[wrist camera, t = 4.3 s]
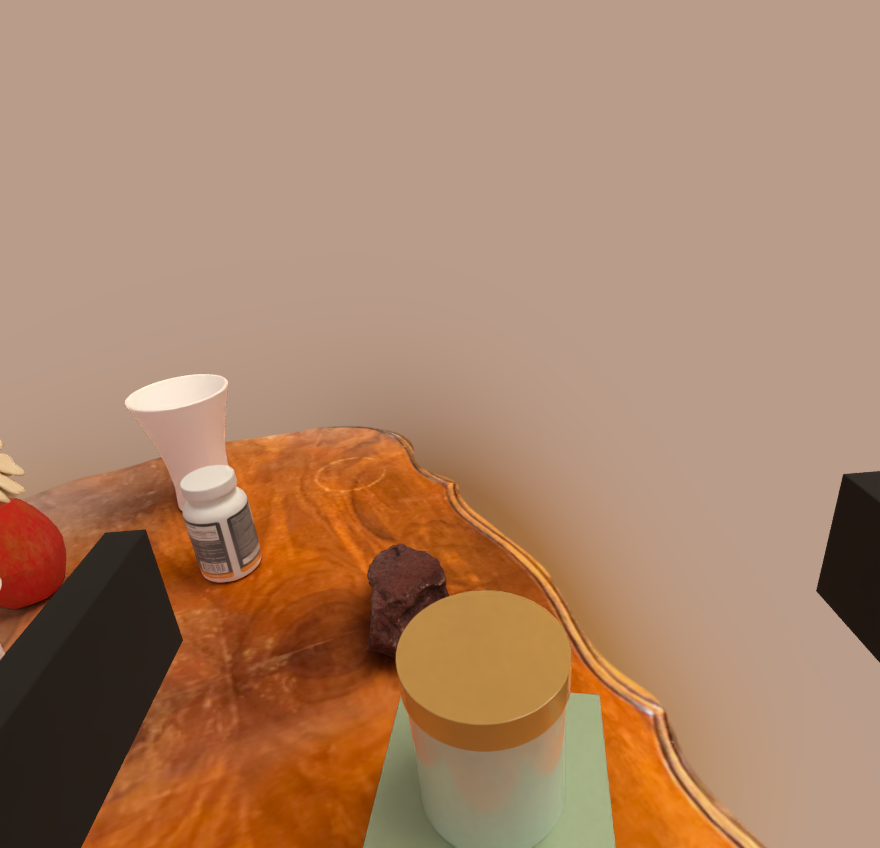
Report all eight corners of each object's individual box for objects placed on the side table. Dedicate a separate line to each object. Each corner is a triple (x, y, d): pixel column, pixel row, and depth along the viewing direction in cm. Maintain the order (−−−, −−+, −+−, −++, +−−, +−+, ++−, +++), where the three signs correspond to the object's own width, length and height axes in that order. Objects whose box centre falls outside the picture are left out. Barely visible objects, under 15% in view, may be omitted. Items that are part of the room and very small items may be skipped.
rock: (420, 595, 56) (336, 619, 53) (413, 530, 55) (327, 550, 52) (477, 645, 46) (379, 679, 43) (470, 567, 45) (369, 596, 42)
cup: (227, 468, 77) (200, 367, 71) (271, 493, 70) (246, 385, 65) (145, 503, 70) (109, 396, 65) (184, 535, 64) (148, 419, 58)
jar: (574, 873, 25) (576, 731, 22) (401, 853, 26) (376, 717, 23) (567, 720, 32) (568, 592, 28) (429, 710, 33) (413, 587, 29)
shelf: (617, 1019, 26) (624, 929, 23) (372, 982, 28) (350, 895, 25) (596, 778, 36) (599, 694, 33) (415, 763, 38) (403, 681, 35)
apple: (-43, 616, 55) (-97, 517, 50) (40, 561, 62) (-1, 469, 57) (19, 634, 52) (-32, 530, 47) (99, 574, 59) (60, 478, 54)
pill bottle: (248, 541, 62) (226, 455, 58) (272, 566, 58) (250, 475, 53) (193, 566, 59) (165, 477, 54) (214, 594, 54) (186, 500, 50)
